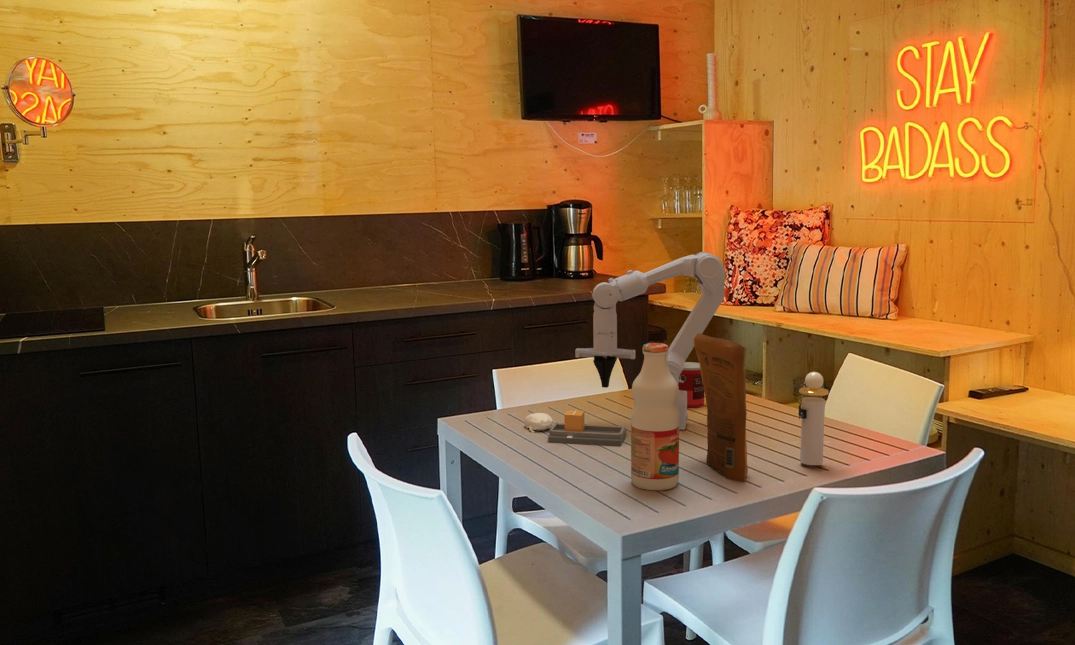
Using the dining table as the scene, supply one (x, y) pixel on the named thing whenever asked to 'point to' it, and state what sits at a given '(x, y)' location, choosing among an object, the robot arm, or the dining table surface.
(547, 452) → the dining table surface
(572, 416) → the fader tab
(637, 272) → the robot arm
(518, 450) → the dining table surface
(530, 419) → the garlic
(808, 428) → the perfume bottle
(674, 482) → the fruit juice
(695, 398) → the canned food
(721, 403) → the pancake mix bag
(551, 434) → the fader console
